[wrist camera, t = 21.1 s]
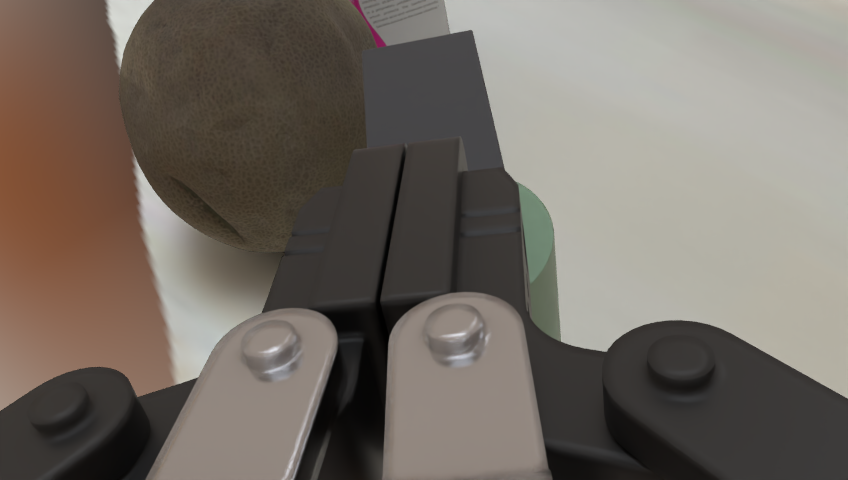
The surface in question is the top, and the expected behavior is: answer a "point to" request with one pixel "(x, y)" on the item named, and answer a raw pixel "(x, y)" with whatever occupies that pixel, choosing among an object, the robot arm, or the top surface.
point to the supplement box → (403, 19)
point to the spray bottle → (455, 134)
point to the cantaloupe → (245, 109)
